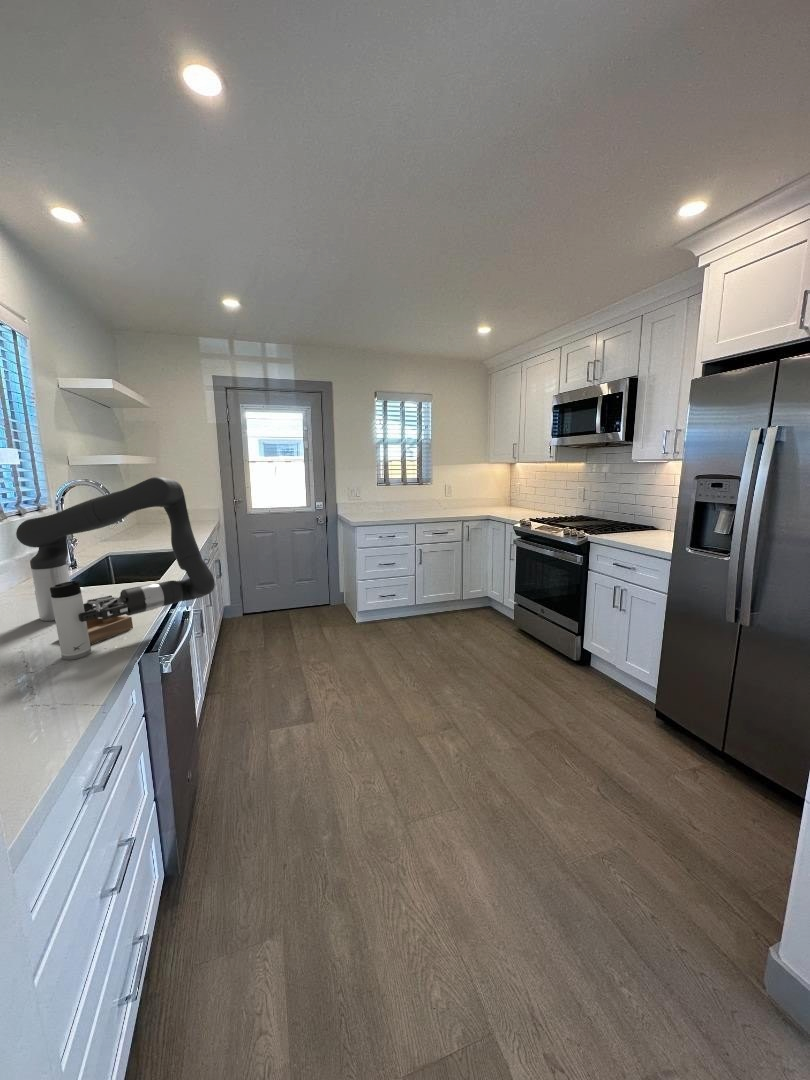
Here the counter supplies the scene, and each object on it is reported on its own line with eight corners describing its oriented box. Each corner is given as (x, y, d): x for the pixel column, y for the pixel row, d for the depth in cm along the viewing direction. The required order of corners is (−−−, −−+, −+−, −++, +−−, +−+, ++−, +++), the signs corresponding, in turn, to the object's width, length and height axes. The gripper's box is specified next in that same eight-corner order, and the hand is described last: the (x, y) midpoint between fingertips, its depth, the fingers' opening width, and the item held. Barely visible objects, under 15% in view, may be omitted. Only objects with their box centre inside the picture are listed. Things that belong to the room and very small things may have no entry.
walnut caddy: (59, 639, 128) (57, 627, 127) (104, 623, 140) (102, 612, 139) (89, 644, 123) (87, 632, 123) (133, 627, 135) (131, 617, 135)
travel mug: (84, 659, 114) (71, 584, 111) (56, 661, 114) (42, 586, 110) (97, 648, 121) (85, 577, 117) (71, 650, 120) (58, 579, 116)
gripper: (132, 582, 132) (65, 595, 120) (150, 590, 122) (79, 606, 110) (135, 606, 133) (70, 621, 121) (153, 616, 124) (84, 634, 112)
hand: (74, 614), depth 116 cm, fingers open, 8 cm apart
